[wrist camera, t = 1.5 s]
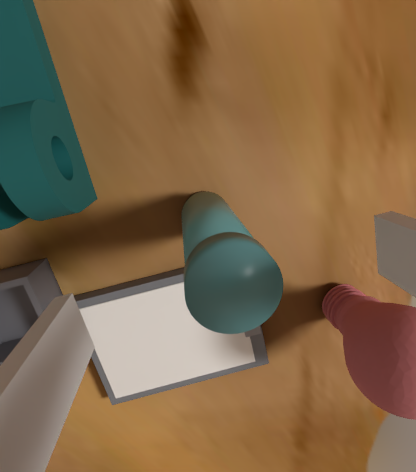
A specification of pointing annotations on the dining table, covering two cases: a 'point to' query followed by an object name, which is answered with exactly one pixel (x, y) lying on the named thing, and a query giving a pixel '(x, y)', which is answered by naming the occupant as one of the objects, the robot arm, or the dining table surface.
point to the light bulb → (377, 347)
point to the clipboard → (159, 339)
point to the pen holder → (23, 300)
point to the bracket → (35, 127)
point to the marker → (226, 268)
